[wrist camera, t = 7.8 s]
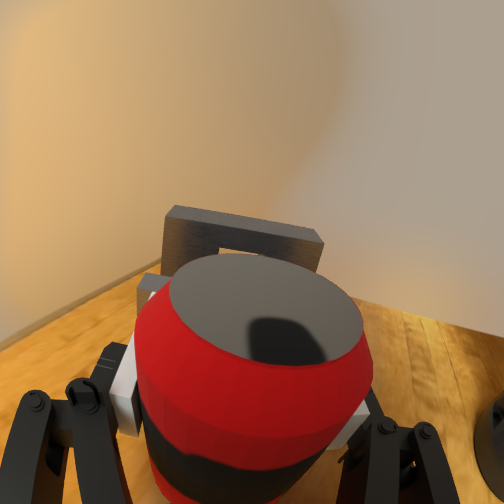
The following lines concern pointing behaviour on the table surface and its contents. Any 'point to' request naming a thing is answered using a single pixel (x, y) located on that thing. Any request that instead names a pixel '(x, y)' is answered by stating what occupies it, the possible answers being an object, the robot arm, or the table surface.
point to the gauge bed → (233, 238)
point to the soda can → (245, 376)
